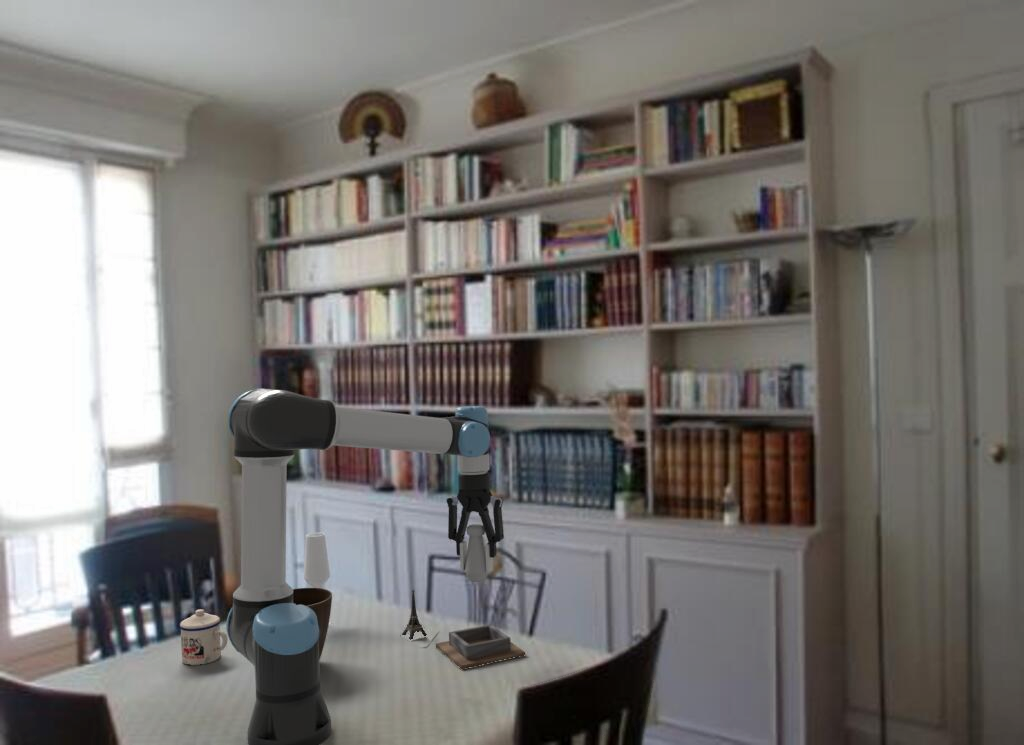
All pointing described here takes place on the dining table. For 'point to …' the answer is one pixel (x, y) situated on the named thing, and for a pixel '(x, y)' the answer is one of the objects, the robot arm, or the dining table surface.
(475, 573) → the salt shaker
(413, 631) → the eiffel tower figurine
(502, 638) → the socket stand
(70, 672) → the dining table surface
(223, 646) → the teacup with lid
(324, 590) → the plant pot
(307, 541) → the champagne flute
